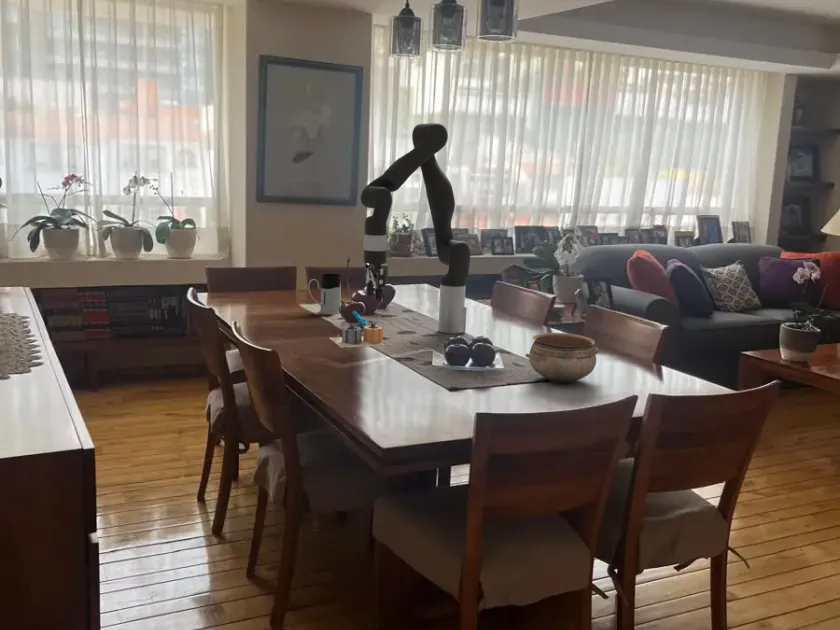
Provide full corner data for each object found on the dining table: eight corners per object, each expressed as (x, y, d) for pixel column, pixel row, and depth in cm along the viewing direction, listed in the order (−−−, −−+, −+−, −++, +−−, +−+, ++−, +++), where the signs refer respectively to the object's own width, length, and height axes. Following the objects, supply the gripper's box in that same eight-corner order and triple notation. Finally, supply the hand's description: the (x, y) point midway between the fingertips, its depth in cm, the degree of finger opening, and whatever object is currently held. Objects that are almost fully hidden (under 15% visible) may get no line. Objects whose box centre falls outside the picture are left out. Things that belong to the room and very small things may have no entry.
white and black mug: (345, 313, 305) (346, 276, 302) (313, 315, 297) (313, 277, 294) (334, 309, 312) (335, 273, 309) (303, 311, 304) (303, 274, 301)
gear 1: (353, 338, 256) (353, 325, 255) (365, 342, 251) (365, 328, 251) (338, 341, 251) (338, 327, 251) (350, 344, 247) (350, 331, 246)
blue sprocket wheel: (373, 330, 267) (353, 309, 267) (360, 342, 267) (341, 321, 267) (375, 328, 278) (356, 308, 278) (363, 339, 278) (345, 319, 278)
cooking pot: (544, 394, 205) (548, 350, 203) (505, 376, 221) (508, 335, 219) (616, 385, 216) (620, 343, 214) (574, 369, 233) (577, 329, 230)
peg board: (371, 339, 261) (372, 318, 260) (385, 348, 249) (385, 327, 247) (329, 341, 256) (329, 320, 254) (340, 351, 243) (341, 329, 242)
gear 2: (378, 338, 258) (379, 325, 257) (385, 342, 252) (385, 329, 251) (360, 338, 256) (361, 325, 255) (366, 343, 250) (366, 329, 249)
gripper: (393, 251, 243) (392, 301, 246) (378, 246, 256) (377, 293, 259) (371, 251, 240) (370, 301, 244) (357, 246, 253) (356, 294, 256)
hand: (374, 297), depth 251 cm, fingers open, 8 cm apart
